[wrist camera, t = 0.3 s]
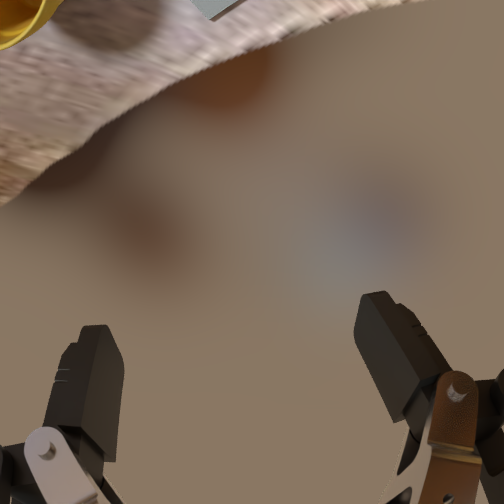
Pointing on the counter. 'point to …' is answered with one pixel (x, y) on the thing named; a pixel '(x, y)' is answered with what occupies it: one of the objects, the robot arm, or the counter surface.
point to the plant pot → (23, 19)
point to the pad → (212, 6)
